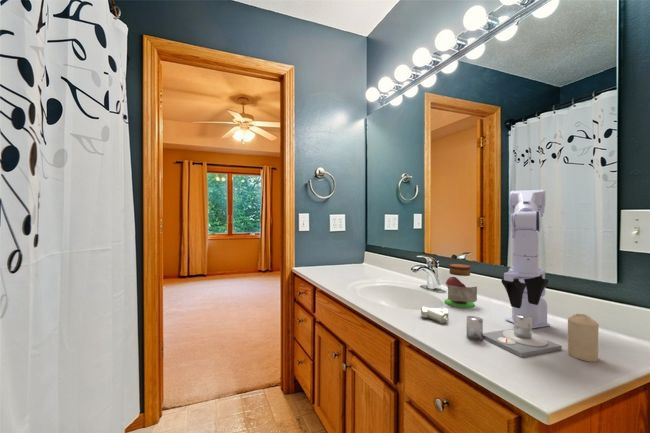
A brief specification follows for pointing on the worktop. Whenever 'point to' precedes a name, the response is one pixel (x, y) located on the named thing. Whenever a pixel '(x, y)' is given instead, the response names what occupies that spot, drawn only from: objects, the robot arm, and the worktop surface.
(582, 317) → the candle
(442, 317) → the pipe fitting
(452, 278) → the multicoloured stacked round part
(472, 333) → the cylinder
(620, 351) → the worktop surface
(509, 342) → the scale
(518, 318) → the cylinder
